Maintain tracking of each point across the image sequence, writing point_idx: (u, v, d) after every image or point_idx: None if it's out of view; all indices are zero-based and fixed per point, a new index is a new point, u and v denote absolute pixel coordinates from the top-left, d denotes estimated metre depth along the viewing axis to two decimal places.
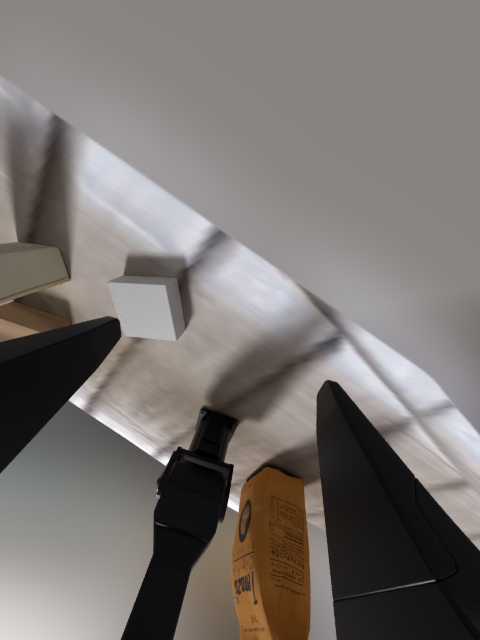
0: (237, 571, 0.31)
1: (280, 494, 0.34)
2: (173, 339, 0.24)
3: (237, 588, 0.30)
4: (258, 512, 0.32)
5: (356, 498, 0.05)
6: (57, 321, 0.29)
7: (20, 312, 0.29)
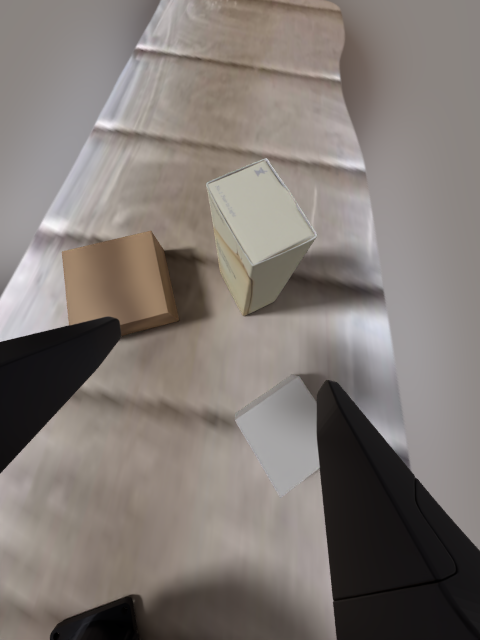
0: None
1: None
2: (280, 492, 0.17)
3: None
4: None
5: (356, 498, 0.05)
6: (174, 311, 0.22)
7: (164, 266, 0.22)
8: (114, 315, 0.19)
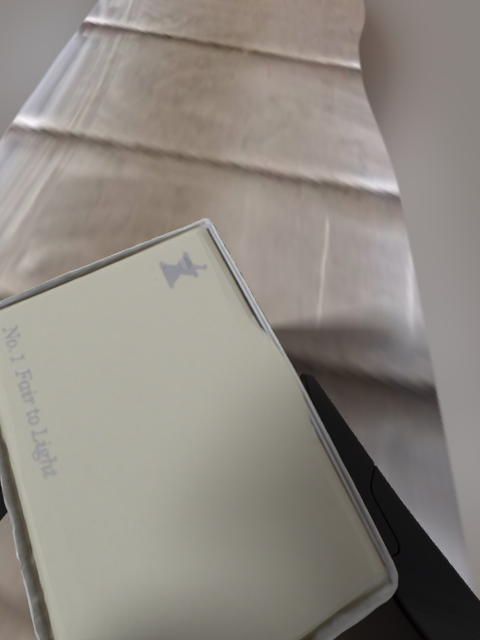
0: None
1: None
2: None
3: None
4: None
5: None
6: None
7: None
8: None
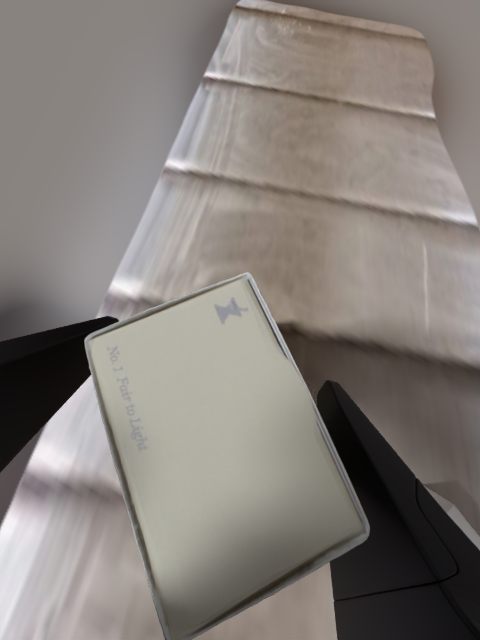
0: None
1: None
2: None
3: None
4: None
5: None
6: None
7: None
8: None
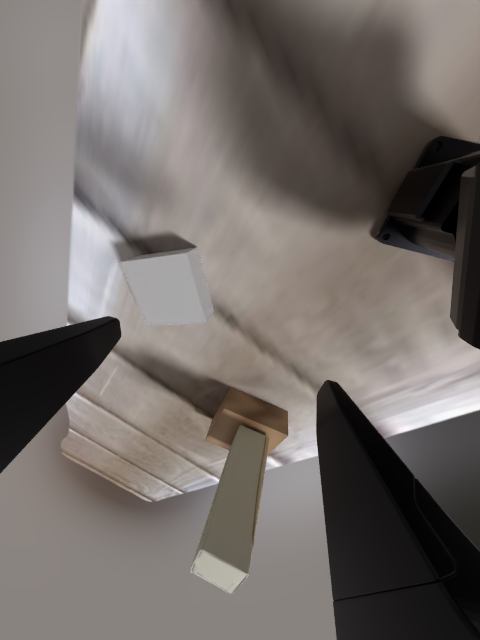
0: None
1: None
2: (185, 257, 0.18)
3: None
4: None
5: (356, 498, 0.05)
6: (227, 395, 0.29)
7: (215, 417, 0.31)
8: (255, 427, 0.26)
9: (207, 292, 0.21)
